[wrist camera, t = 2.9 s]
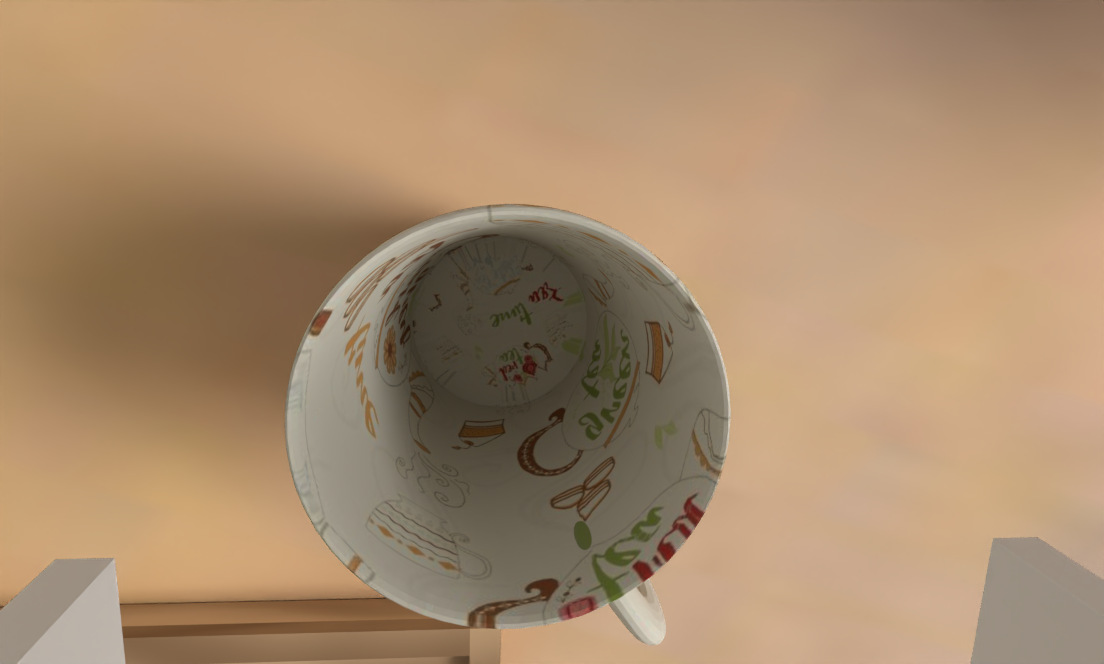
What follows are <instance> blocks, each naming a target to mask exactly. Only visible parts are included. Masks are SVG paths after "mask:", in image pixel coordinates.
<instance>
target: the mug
mask: <svg viewBox="0 0 1104 664" xmlns="http://www.w3.org/2000/svg"><path fill="white" fill-rule="evenodd" d="M730 416H731V411H730V397H729V386H728V380H727V375H726V369H725V365H724V362H723V359H722V355H721V352H720V349H719V345H718V343H717V340H716V338H715V335H714V333H713V331H712V328H711V326H710V324H709V322H708V320H707V319H706V317H705V315H704V313H703V311H702V309H701V307H700V306H699V305H698V303H697V302H696V300H695V299H694V297H693V296H692V294H691V293H690V291H689V290H688V289H687V287H686V286H685V285H684V284H683V283H682V282H681V280H680V279H679V278H678V277H677V276H676V274H675V273H674V272H673V271H672V270H670V269H669V268H668V267H667V266H666V265H665V264H664V263H663V262H662V261H661V260H660V259H659V258H658V257H656V256H655V255H654V254H653V253H651V252H650V251H649V250H647V249H646V248H645V247H644V246H642V245H641V244H639V243H638V242H636V241H635V240H633V239H631V238H630V237H628V236H627V235H625V234H623V233H621V232H619V231H618V230H616V229H614V228H612V227H609V226H607V225H605V224H603V223H601V222H598V221H596V220H593V219H591V218H588V217H585V216H583V215H580V214H576V213H572V212H569V211H565V210H560V209H556V208H551V207H544V206H535V205H526V204H500V205H487V206H479V207H472V208H467V209H462V210H457V211H454V212H450V213H447V214H443V215H440V216H437V217H434V218H432V219H429V220H426V221H423V222H421V223H419V224H417V225H415V226H413V227H411V228H408V229H406V230H404V231H402V232H401V233H399V234H397V235H396V236H394V237H392V238H391V239H389V240H387V241H386V242H384V243H383V244H381V245H380V246H379V247H377V248H376V249H374V250H373V251H372V252H370V253H369V254H368V255H366V256H365V257H364V258H363V259H362V260H361V261H359V262H358V263H357V264H356V265H355V266H354V267H353V268H352V269H351V270H350V271H349V272H348V273H346V274H345V276H344V277H343V278H342V279H341V280H340V281H339V282H338V284H337V285H336V286H335V287H334V288H333V289H332V290H331V291H330V293H329V294H328V296H327V297H326V299H325V300H324V301H323V303H322V304H321V306H320V307H319V308H318V310H317V312H316V313H315V315H314V317H313V319H312V320H311V322H310V324H309V326H308V328H307V329H306V332H305V334H304V336H303V339H302V341H301V343H300V346H299V348H298V350H297V354H296V357H295V360H294V363H293V367H292V370H291V374H290V379H289V384H288V389H287V396H286V405H285V438H286V449H287V455H288V460H289V466H290V470H291V474H292V477H293V481H294V484H295V488H296V490H297V493H298V495H299V497H300V500H301V502H302V505H303V507H304V509H305V511H306V513H307V515H308V516H309V518H310V520H311V522H312V524H313V526H314V528H315V529H316V531H317V532H318V534H319V535H320V536H321V538H322V539H323V540H324V542H325V543H326V544H327V546H328V547H329V549H330V550H331V551H332V552H333V553H334V554H335V556H336V557H337V558H338V559H339V560H340V561H341V562H342V563H343V564H344V565H345V566H346V567H347V568H348V569H349V570H350V571H351V572H352V573H354V574H355V575H356V576H357V577H358V578H359V579H360V580H362V581H363V582H364V583H365V584H367V585H368V586H370V587H371V588H373V589H374V590H376V591H377V592H379V593H380V594H381V595H383V596H384V597H386V598H388V599H390V600H392V601H393V602H395V603H397V604H399V605H401V606H403V607H405V608H407V609H410V610H412V611H414V612H417V613H419V614H421V615H424V616H427V617H431V618H434V619H437V620H440V621H444V622H448V623H453V624H457V625H461V626H469V627H476V628H487V629H518V628H529V627H537V626H544V625H549V624H553V623H558V622H562V621H566V620H569V619H572V618H575V617H579V616H582V615H584V614H587V613H589V612H592V611H594V610H597V609H599V608H602V607H603V606H605V605H607V604H609V605H610V607H611V608H612V610H613V611H614V612H615V614H616V615H617V616H618V618H619V619H620V620H621V621H622V623H623V624H624V625H625V627H626V628H627V629H628V630H629V631H630V632H631V633H632V634H633V635H634V636H635V637H636V638H637V639H638V640H640V641H641V642H643V643H645V644H648V645H656V644H660V642H661V641H662V640H663V639H664V637H665V632H666V624H665V619H664V614H663V611H662V608H661V605H660V602H659V600H658V597H657V595H656V593H655V591H654V588H653V586H652V584H651V582H650V580H649V578H650V577H651V576H652V575H654V574H655V573H656V572H657V571H658V570H659V569H660V568H661V567H662V566H663V565H665V564H666V563H667V562H668V561H669V560H670V559H671V557H672V556H673V555H674V554H675V553H676V552H677V551H678V550H679V549H680V548H681V546H682V545H683V544H684V543H685V541H686V540H687V539H688V537H689V536H690V535H691V533H692V532H693V531H694V529H695V527H696V526H697V524H698V523H699V521H700V519H701V518H702V516H703V515H704V513H705V511H706V509H707V507H708V505H709V503H710V501H711V499H712V497H713V495H714V492H715V489H716V487H717V484H718V482H719V479H720V476H721V473H722V469H723V465H724V462H725V458H726V453H727V447H728V441H729V431H730Z"/></svg>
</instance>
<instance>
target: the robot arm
mask: <svg viewBox="0 0 1104 664" xmlns="http://www.w3.org/2000/svg"><path fill="white" fill-rule="evenodd" d="M0 664H125V654H124V644H123V634H122V624H121V615H120V605H119V595H118V585H117V576H116V566H115V558H93V559H55V560H54V561H53V562H52V563H51V564H50V565H49V566H48V567H47V568H46V569H44V570H43V571H42V572H41V573H40V574H39V575H38V576H37V577H36V578H35V579H34V580H33V581H32V582H30V583H29V584H28V585H27V586H26V587H25V588H24V589H23V590H22V591H21V592H20V593H19V594H18V595H16V596H15V597H14V598H13V599H12V600H11V601H10V602H9V603H8V604H7V605H6V606H5V607H4V608H2V609H1V610H0ZM971 664H1104V580H1103V579H1101V578H1100V577H1098V576H1097V575H1095V574H1093V573H1092V572H1090V571H1089V570H1087V569H1086V568H1084V567H1083V566H1081V565H1080V564H1078V563H1076V562H1075V561H1073V560H1072V559H1070V558H1069V557H1067V556H1066V555H1064V554H1062V553H1061V552H1059V551H1058V550H1056V549H1055V548H1053V547H1052V546H1050V545H1049V544H1047V543H1045V542H1044V541H1042V540H1041V539H1039V538H1038V537H1029V538H993V542H992V547H991V553H990V558H989V564H988V569H987V575H986V580H985V586H984V592H983V597H982V603H981V608H980V614H979V619H978V625H977V631H976V636H975V642H974V647H973V653H972V658H971Z"/></svg>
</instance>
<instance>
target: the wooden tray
mask: <svg viewBox="0 0 1104 664" xmlns="http://www.w3.org/2000/svg"><path fill="white" fill-rule="evenodd" d="M2 608H4V607H0V610H1V609H2ZM120 615H121V624H122V634H123V644H124V654H125V664H500V649H501V629H487V628H476V627H469V626H461V625H457V624H453V623H448V622H444V621H440V620H437V619H434V618H431V617H427V616H424V615H421V614H419V613H417V612H414V611H412V610H410V609H407V608H405V607H403V606H401V605H399V604H397V603H395V602H393V601H392V600H390V599H347V600H303V601H259V602H214V603H170V604H126V605H120Z"/></svg>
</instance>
